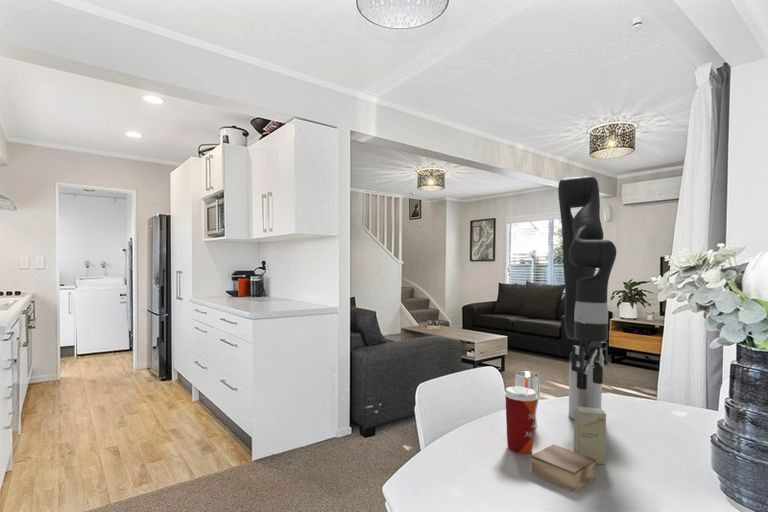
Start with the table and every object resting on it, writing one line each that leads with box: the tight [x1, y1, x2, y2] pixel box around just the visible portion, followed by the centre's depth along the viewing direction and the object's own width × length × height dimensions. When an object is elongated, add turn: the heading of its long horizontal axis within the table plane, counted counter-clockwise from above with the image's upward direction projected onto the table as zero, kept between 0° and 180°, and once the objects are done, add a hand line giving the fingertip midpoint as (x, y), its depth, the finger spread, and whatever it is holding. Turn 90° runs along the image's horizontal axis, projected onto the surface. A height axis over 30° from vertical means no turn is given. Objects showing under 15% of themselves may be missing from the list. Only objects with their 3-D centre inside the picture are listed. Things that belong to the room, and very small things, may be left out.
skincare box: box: [573, 406, 607, 465], centre depth 104 cm, size 6×4×12 cm
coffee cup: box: [503, 386, 538, 455], centre depth 110 cm, size 8×8×15 cm
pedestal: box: [530, 443, 597, 493], centre depth 96 cm, size 10×10×4 cm
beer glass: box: [514, 370, 541, 429], centre depth 126 cm, size 7×7×15 cm
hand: (589, 386), depth 105 cm, fingers open, 8 cm apart
